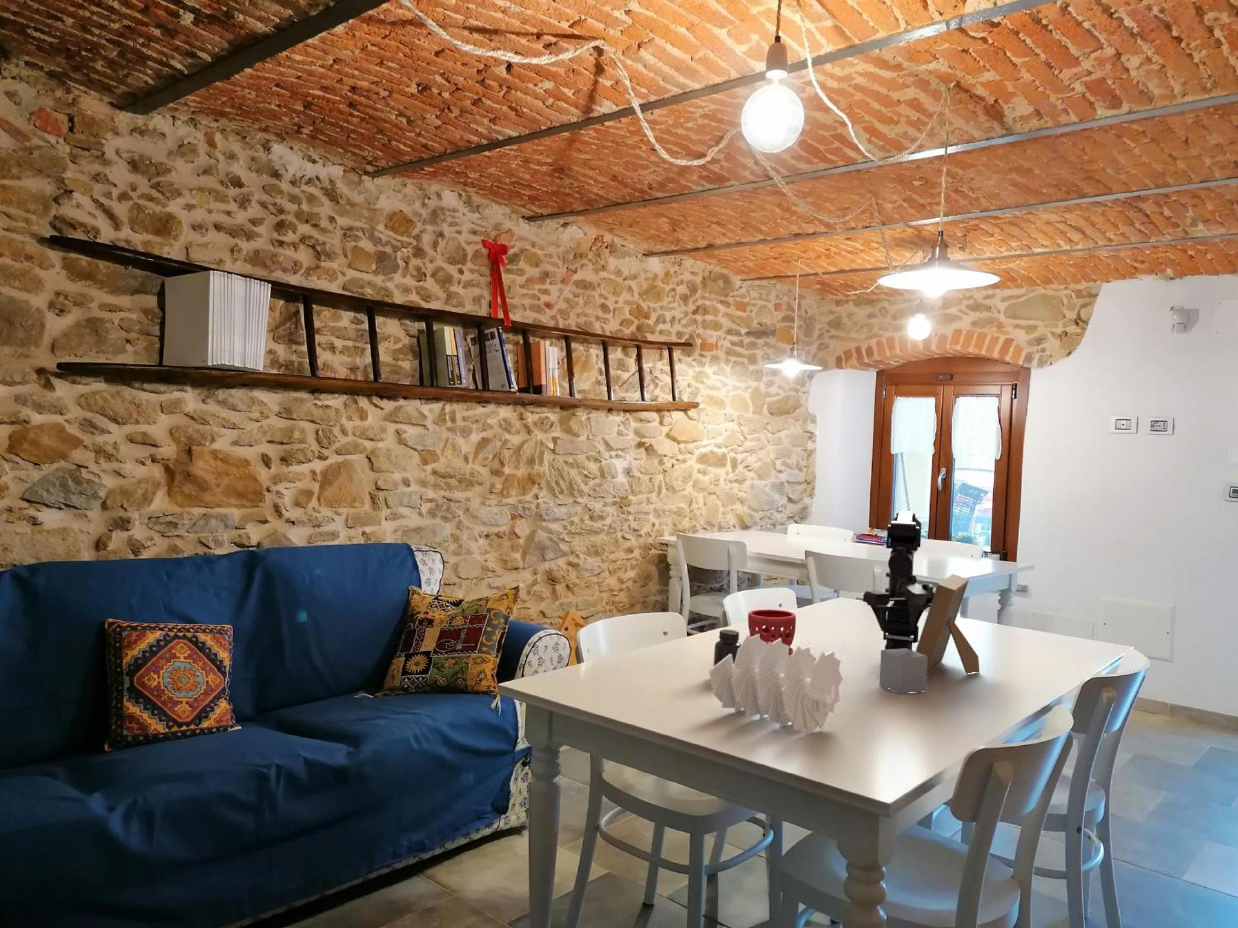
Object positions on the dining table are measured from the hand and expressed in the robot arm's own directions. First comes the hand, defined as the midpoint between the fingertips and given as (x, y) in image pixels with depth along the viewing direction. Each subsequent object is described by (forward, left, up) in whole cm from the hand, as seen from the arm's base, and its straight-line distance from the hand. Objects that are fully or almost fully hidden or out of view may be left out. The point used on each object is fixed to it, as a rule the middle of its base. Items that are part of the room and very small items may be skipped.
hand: (898, 630), depth 219 cm
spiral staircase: (+49, +24, -12) cm, 56 cm away
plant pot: (+22, -26, -12) cm, 36 cm away
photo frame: (-16, 0, -12) cm, 20 cm away
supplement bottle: (+45, -7, -12) cm, 47 cm away
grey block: (+5, +9, -12) cm, 16 cm away
